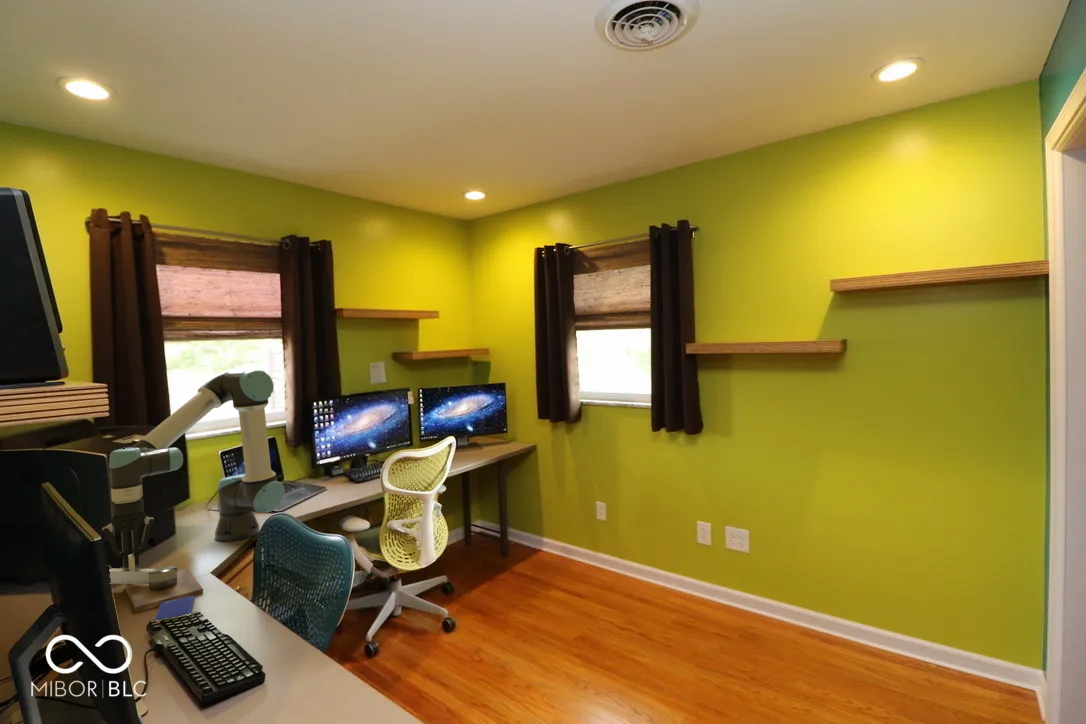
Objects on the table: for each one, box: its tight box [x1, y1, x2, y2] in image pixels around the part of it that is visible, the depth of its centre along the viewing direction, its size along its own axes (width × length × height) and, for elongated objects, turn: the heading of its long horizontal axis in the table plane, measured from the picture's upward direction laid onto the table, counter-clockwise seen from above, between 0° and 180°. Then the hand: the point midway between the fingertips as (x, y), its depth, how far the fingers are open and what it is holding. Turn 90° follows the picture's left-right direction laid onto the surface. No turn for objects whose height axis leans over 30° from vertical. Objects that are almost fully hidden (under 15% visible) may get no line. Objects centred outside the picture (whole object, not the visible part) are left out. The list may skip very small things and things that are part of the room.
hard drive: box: [154, 596, 196, 621], centre depth 149 cm, size 2×8×12 cm
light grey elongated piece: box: [107, 565, 178, 590], centre depth 163 cm, size 23×7×5 cm, turn 85°
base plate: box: [124, 567, 204, 613], centre depth 162 cm, size 16×22×2 cm
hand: (132, 576), depth 166 cm, fingers closed
